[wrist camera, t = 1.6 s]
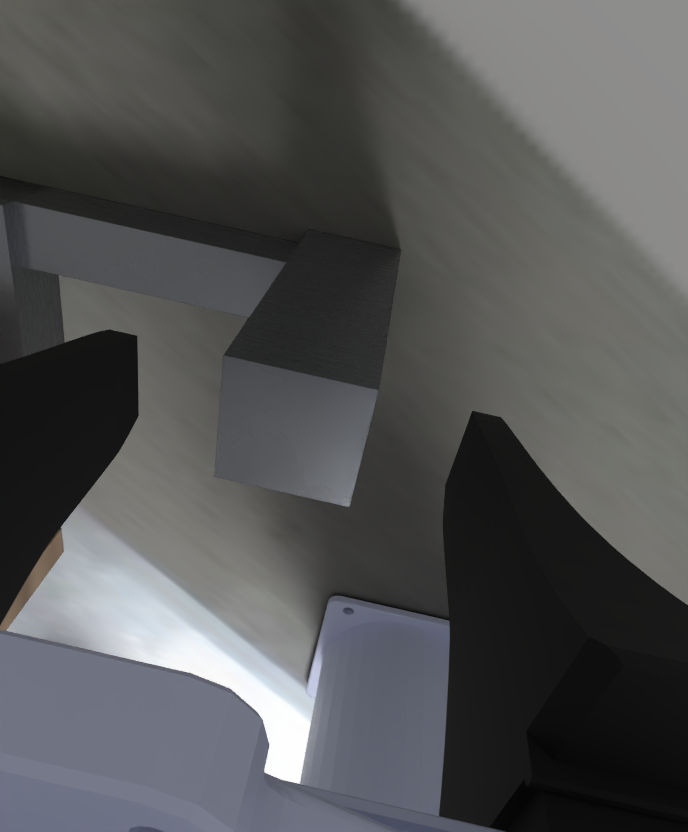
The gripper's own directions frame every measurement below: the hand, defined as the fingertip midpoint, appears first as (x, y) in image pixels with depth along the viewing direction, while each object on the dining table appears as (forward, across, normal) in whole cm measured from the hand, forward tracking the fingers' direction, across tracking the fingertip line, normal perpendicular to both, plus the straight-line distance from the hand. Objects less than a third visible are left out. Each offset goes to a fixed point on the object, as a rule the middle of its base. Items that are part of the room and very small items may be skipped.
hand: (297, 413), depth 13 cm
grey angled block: (+8, 0, 0) cm, 8 cm away
